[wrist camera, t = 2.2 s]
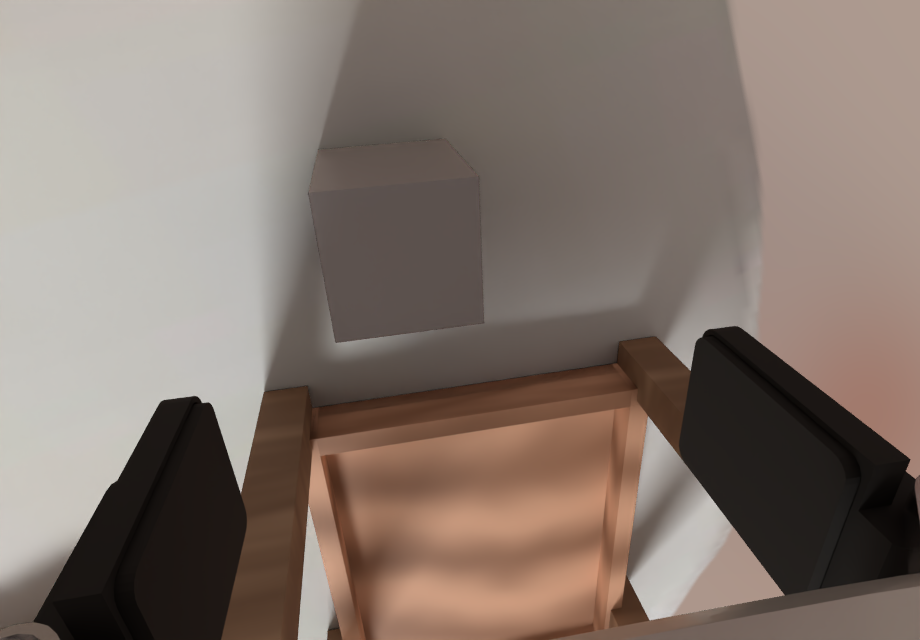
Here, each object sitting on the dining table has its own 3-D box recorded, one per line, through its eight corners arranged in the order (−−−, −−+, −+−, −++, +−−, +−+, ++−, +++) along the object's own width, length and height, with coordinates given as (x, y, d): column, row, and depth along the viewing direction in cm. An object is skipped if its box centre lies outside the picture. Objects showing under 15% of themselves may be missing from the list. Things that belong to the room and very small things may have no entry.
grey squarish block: (318, 149, 22) (308, 192, 16) (445, 138, 22) (479, 176, 17) (338, 268, 24) (335, 342, 18) (452, 254, 25) (484, 322, 19)
